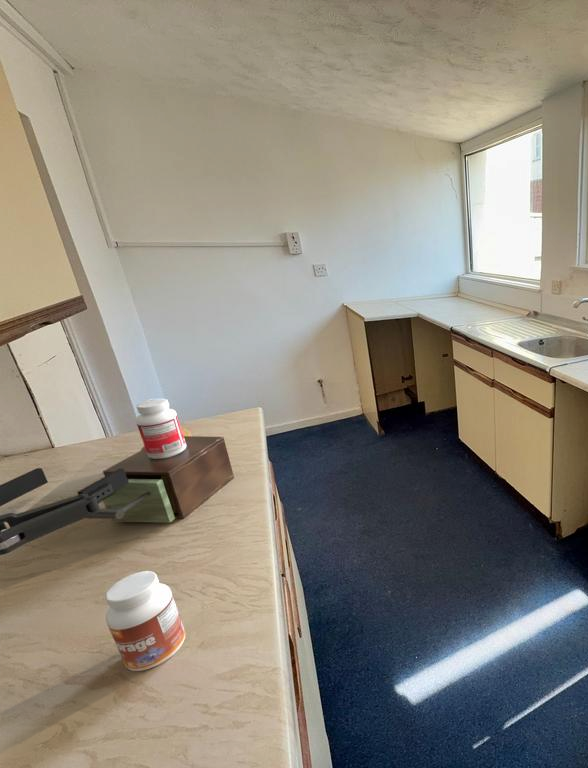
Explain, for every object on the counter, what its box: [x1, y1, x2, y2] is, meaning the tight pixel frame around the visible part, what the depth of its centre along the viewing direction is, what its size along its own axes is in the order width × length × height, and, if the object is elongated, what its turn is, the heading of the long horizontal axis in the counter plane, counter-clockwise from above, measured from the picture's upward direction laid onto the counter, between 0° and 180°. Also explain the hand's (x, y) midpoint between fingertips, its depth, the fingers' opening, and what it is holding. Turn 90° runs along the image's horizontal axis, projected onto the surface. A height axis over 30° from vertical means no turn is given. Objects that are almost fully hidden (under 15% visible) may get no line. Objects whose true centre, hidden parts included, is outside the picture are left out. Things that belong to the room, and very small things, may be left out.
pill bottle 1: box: [135, 397, 186, 459], centre depth 79 cm, size 6×6×11 cm
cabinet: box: [102, 435, 235, 520], centre depth 83 cm, size 15×13×11 cm
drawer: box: [83, 475, 178, 523], centre depth 77 cm, size 20×11×9 cm, turn 179°
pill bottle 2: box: [105, 570, 186, 672], centre depth 51 cm, size 6×6×11 cm
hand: (83, 475), depth 65 cm, fingers open, 13 cm apart
